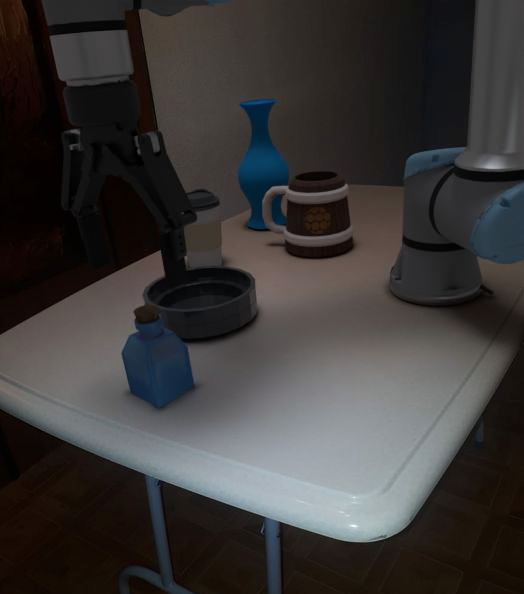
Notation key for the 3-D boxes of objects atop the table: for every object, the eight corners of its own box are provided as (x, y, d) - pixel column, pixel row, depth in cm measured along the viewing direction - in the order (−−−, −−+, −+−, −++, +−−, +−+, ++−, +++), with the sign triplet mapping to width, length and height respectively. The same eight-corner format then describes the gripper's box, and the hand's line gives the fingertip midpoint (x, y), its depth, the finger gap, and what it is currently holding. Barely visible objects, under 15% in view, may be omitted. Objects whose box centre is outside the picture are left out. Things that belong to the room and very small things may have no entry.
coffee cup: (220, 273, 112) (211, 198, 104) (178, 273, 114) (165, 199, 106) (231, 257, 119) (223, 186, 112) (191, 257, 121) (181, 187, 114)
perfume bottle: (130, 392, 76) (111, 313, 70) (166, 372, 79) (150, 295, 74) (158, 408, 72) (140, 325, 66) (194, 386, 76) (180, 306, 70)
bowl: (279, 305, 96) (277, 275, 93) (209, 353, 83) (204, 320, 81) (199, 287, 106) (194, 260, 103) (126, 327, 93) (119, 297, 91)
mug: (360, 236, 124) (360, 167, 116) (345, 261, 112) (344, 185, 104) (276, 233, 130) (271, 168, 123) (253, 256, 118) (246, 185, 111)
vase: (299, 218, 140) (293, 96, 126) (280, 233, 130) (271, 104, 117) (256, 216, 145) (245, 99, 131) (234, 231, 135) (220, 106, 121)
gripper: (214, 73, 53) (236, 281, 63) (55, 80, 66) (95, 250, 77) (158, 81, 48) (192, 306, 58) (-2, 87, 61) (49, 269, 72)
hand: (137, 275), depth 67 cm, fingers open, 13 cm apart
